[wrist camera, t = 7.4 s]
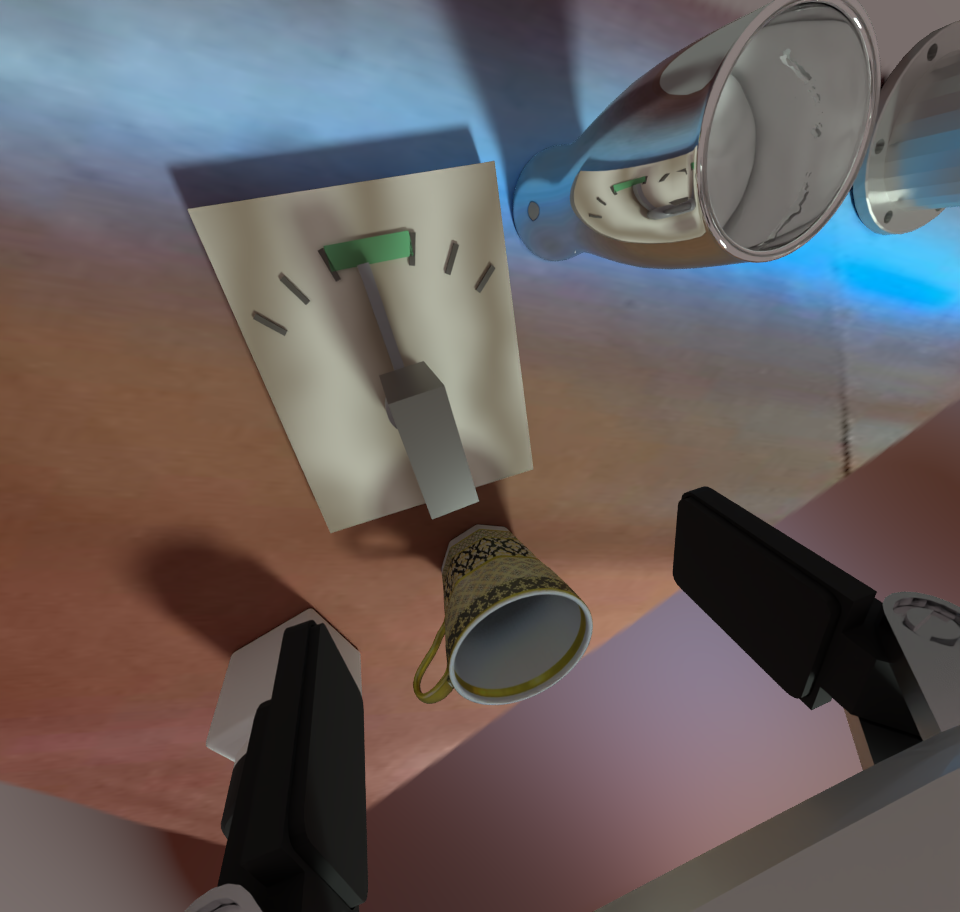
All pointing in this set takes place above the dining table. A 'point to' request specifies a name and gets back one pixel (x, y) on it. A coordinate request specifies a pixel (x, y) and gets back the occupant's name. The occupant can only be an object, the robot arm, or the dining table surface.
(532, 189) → the beer glass
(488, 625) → the ceramic cup
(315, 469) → the tuner board
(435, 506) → the grey block on stem
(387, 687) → the dining table surface
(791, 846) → the robot arm
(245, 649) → the medicine bottle
